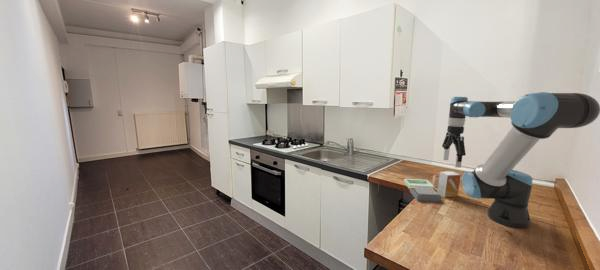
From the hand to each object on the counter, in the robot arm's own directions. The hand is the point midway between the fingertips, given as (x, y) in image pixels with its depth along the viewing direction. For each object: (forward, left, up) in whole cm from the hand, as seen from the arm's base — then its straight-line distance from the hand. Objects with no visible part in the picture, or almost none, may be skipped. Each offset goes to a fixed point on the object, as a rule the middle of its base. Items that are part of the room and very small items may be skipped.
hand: (451, 163), depth 136 cm
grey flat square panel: (-4, +14, -16) cm, 21 cm away
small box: (0, 0, -19) cm, 19 cm away
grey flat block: (-4, +14, -19) cm, 24 cm away
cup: (+13, -1, -19) cm, 23 cm away
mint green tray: (+11, +12, -19) cm, 25 cm away
